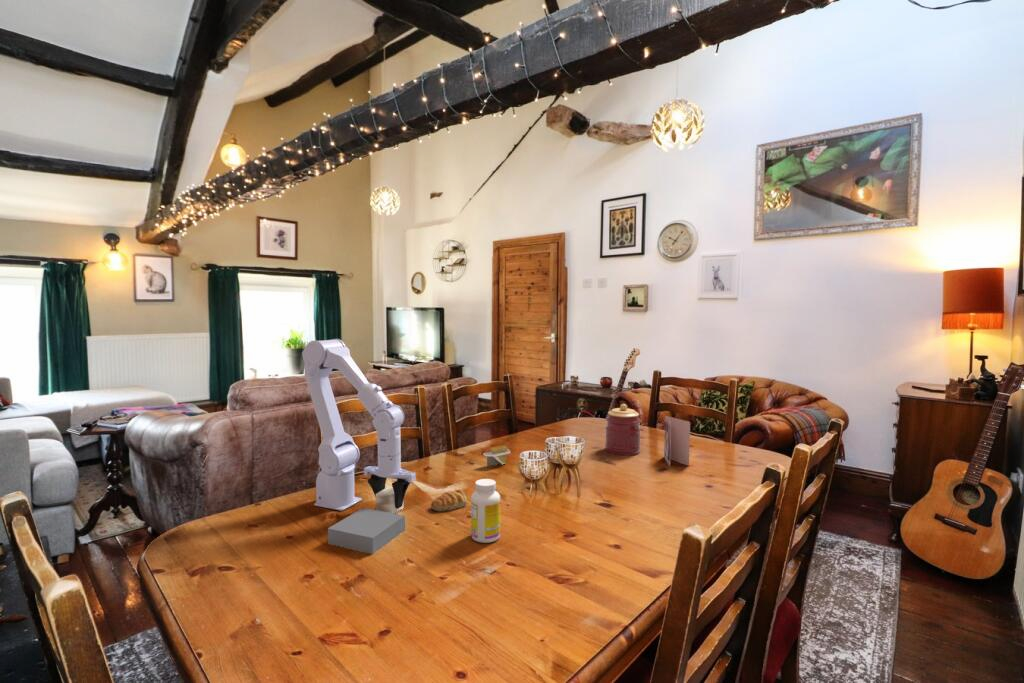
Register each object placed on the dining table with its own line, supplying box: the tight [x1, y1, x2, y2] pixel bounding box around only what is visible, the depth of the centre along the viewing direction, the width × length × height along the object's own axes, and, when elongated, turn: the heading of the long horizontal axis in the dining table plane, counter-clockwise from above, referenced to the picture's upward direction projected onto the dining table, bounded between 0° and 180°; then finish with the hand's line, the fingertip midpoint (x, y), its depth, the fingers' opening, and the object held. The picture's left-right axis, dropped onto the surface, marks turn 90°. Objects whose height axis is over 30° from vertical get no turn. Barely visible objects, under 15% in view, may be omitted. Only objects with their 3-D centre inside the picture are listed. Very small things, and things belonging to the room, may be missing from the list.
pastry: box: [430, 488, 468, 512], centre depth 127 cm, size 9×7×4 cm
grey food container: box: [482, 445, 511, 468], centre depth 161 cm, size 12×18×7 cm, turn 128°
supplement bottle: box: [470, 478, 501, 544], centre depth 109 cm, size 7×7×13 cm
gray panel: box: [327, 507, 406, 555], centre depth 109 cm, size 12×12×4 cm
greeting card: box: [663, 415, 691, 467], centre depth 165 cm, size 11×7×15 cm, turn 172°
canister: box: [604, 403, 642, 456], centre depth 179 cm, size 13×13×18 cm
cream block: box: [375, 487, 405, 514], centre depth 124 cm, size 5×5×5 cm
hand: (389, 505), depth 124 cm, fingers closed on cream block, 5 cm apart
